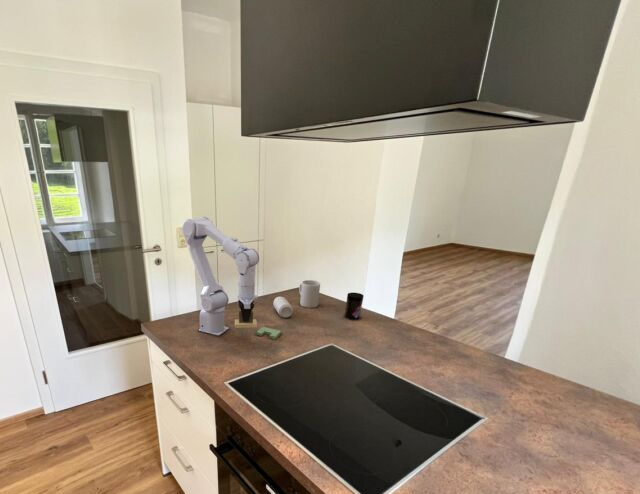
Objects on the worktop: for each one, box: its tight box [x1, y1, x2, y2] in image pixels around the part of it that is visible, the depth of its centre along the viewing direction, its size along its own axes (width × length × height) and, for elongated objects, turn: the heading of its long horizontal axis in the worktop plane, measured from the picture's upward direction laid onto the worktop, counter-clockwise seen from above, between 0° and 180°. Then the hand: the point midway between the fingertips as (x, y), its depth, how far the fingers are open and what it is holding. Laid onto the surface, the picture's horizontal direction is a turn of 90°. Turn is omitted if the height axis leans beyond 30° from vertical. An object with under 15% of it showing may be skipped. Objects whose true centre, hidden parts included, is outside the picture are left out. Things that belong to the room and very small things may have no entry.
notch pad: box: [255, 326, 282, 340], centre depth 141 cm, size 8×6×1 cm
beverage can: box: [272, 295, 294, 319], centre depth 160 cm, size 6×6×12 cm
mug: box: [298, 279, 321, 309], centre depth 171 cm, size 12×8×11 cm
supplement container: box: [344, 292, 364, 321], centre depth 157 cm, size 7×7×10 cm
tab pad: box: [234, 310, 258, 329], centre depth 132 cm, size 8×8×5 cm
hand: (245, 319), depth 131 cm, fingers closed on tab pad
